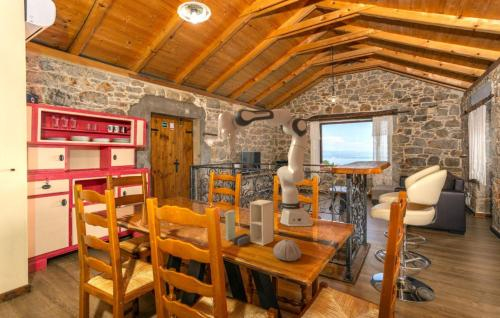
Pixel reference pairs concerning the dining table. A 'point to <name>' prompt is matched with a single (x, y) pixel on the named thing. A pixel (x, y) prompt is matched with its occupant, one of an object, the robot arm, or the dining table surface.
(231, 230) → the door
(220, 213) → the wall hook
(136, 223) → the dining table surface
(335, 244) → the dining table surface
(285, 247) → the sea urchin shell
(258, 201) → the cabinet
